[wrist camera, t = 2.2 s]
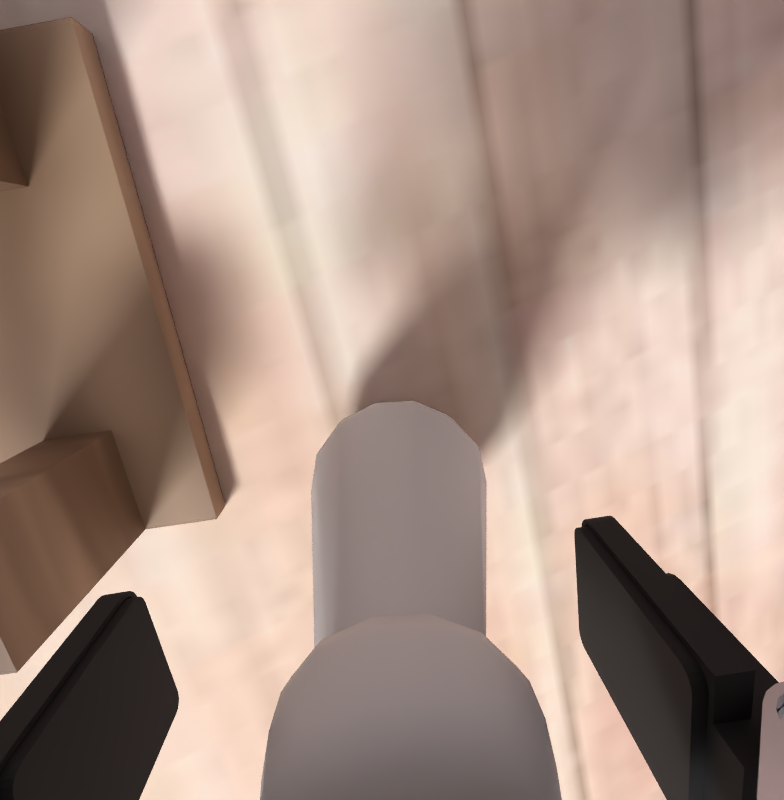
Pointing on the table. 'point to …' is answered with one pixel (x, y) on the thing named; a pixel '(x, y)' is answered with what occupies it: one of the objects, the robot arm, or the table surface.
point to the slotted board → (80, 346)
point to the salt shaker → (404, 631)
